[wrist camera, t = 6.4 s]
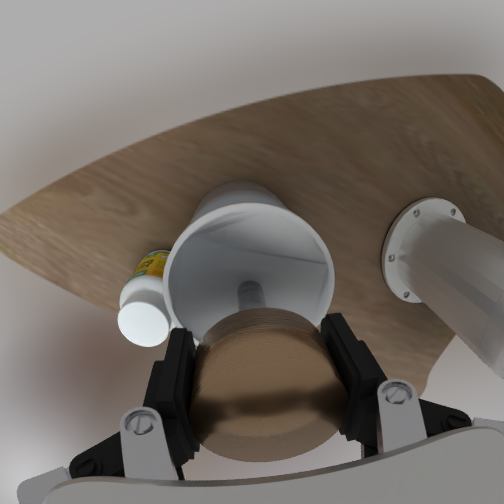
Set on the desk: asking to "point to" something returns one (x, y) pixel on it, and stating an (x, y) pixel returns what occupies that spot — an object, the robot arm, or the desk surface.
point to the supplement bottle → (146, 303)
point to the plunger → (264, 384)
